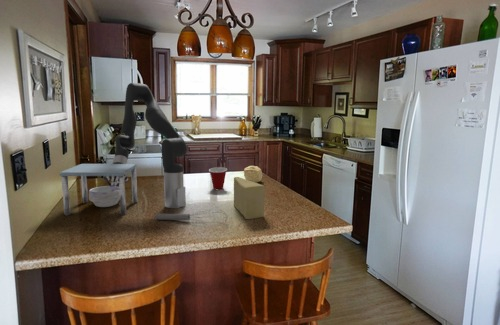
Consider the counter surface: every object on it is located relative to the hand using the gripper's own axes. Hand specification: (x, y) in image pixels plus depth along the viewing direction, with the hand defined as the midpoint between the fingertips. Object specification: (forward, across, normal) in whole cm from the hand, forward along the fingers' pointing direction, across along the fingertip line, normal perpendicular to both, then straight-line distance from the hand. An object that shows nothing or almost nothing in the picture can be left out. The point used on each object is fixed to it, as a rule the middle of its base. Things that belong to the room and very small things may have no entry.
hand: (112, 193), depth 176 cm
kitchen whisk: (+27, +44, -21) cm, 56 cm away
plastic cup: (-14, +53, +20) cm, 59 cm away
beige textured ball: (-28, +75, +34) cm, 87 cm away
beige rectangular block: (+17, +67, -11) cm, 70 cm away
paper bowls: (+8, 0, -3) cm, 9 cm away
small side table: (+12, 0, -7) cm, 14 cm away
